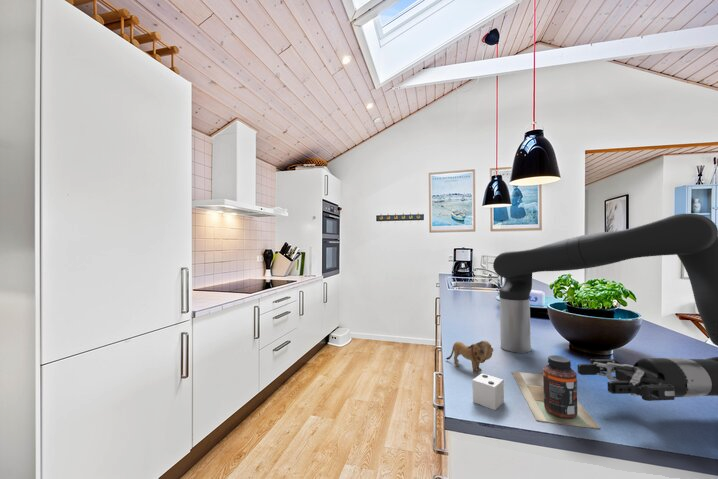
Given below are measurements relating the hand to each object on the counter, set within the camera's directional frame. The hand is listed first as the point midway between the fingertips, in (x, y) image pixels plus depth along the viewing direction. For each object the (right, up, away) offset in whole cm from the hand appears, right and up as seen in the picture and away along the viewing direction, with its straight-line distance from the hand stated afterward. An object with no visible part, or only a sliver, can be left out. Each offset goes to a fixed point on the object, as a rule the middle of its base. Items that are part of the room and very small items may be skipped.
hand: (592, 377), depth 64 cm
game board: (-5, -8, +8) cm, 12 cm away
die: (-20, -8, +5) cm, 22 cm away
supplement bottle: (-7, -8, 0) cm, 10 cm away
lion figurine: (-17, -8, +24) cm, 31 cm away
